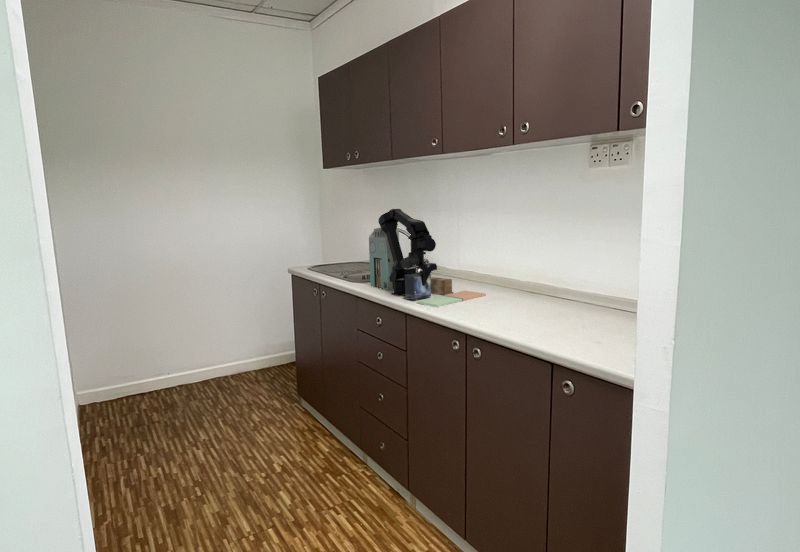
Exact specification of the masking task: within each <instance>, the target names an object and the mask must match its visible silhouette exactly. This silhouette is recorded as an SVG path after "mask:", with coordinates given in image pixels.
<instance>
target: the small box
mask: <svg viewBox="0 0 800 552" xmlns="http://www.w3.org/2000/svg"><path fill="white" fill-rule="evenodd" d="M431 277H432V274H431V273H430V275H429V277H428V279H427V281H426V283H425V285H424V286H422V277H421V273H420V272H416V273H414V274H407V275H405V295H404V298H406V299H411V300H418V299H424V298H425V299H426V298H431V296H432V294H431Z"/></svg>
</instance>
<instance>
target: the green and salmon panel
mask: <svg viewBox="0 0 800 552" xmlns="http://www.w3.org/2000/svg"><path fill="white" fill-rule="evenodd" d="M485 296H486V293H484V292H478V291H472V290H461V291H457V292H454V293H451V294H447V295H437V296H433V297H427V298H425V299H424V298H423V299H420V300H416V304H417V303H418V304H419V305H424V306H428V305H429V307H435V308H438V307H439V308H440V307H443V306H448V305H452V304H456V303H460V302H464V301H465V302H466V301H468V300H473V299H477V298H481V297H485Z"/></svg>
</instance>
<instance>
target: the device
mask: <svg viewBox="0 0 800 552" xmlns="http://www.w3.org/2000/svg"><path fill="white" fill-rule="evenodd" d="M396 232H397V236H398V240H399V241H400V229H399V228H397V229H396ZM368 236H369V237H368V251H369V252H368V255H369V257H368V259H369V275H370V277H369V280H370V284H369V285H370V287H372V286H373V288H376V287H378V288H377V289H380V288H381V289H380V290H385V291H387V292H389V291H394V288H393V282H390V279H389V277H390V275H391V273H392V266H393V263H394V261H393V257H392V254H391V250H390V246H389V243H388V239H387V235H386V233H385V232H384V231H383V230H382V229H381V227H375V228H373V231H372V232H371V234H370V235H368Z"/></svg>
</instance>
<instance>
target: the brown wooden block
mask: <svg viewBox="0 0 800 552" xmlns="http://www.w3.org/2000/svg"><path fill="white" fill-rule="evenodd" d="M451 293H455V292H454V291H453V279H451V278H444V277H436V276H431V295H437V296H442V295H447V294H451Z"/></svg>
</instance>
